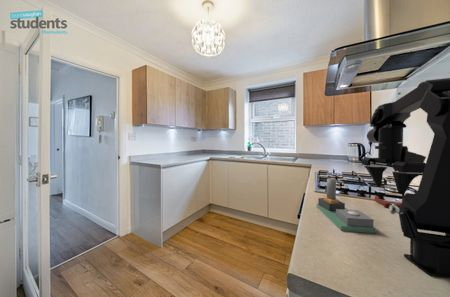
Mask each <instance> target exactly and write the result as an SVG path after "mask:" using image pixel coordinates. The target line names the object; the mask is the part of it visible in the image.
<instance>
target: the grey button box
mask: <svg viewBox="0 0 450 297" xmlns="http://www.w3.org/2000/svg"><path fill="white" fill-rule="evenodd" d="M336 216H337V217H338V218H339V219H340V220H341V221H343V222H344V223H345V224H346V225H348V226H362V227H374V223H375V222H374V221H375V220H374V219H373V218H372V217H370V216H369V215H367V214H366V213H363V211H360V210H359V209H358V210H356V209H348V210H343V209H336Z"/></svg>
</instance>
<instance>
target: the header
mask: <svg viewBox="0 0 450 297" xmlns="http://www.w3.org/2000/svg"><path fill="white" fill-rule="evenodd" d="M317 202H318V203H317V204H318V205H319V206H321V207H323V208H325V209H327V210H328V211H336V209H343V210H345V208H346V204H345V202H342V201H340V200H339V203H329V202H327V201H325V200H324V197H318V201H317Z"/></svg>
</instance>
